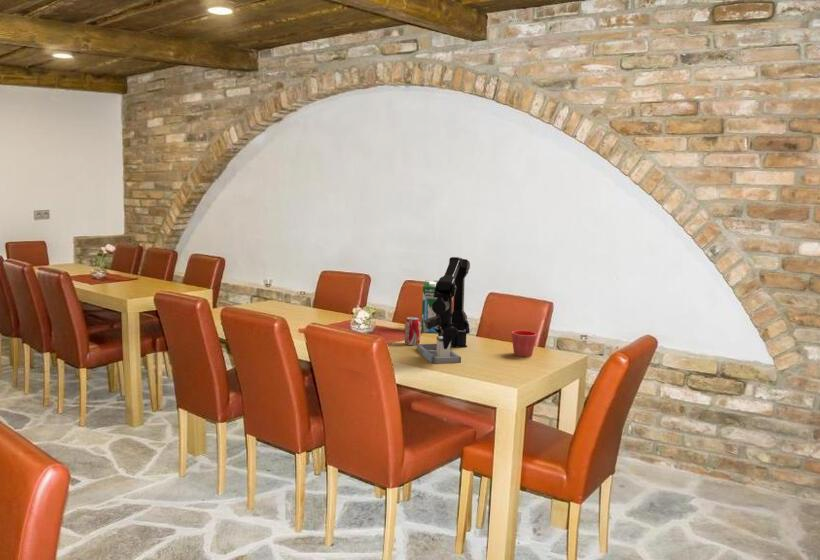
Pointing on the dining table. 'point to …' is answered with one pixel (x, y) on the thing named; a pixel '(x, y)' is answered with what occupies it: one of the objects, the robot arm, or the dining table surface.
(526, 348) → the flower pot
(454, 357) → the grey divided tray
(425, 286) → the milk carton
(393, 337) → the dining table surface
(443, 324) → the robot arm
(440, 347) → the cylinder
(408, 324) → the soda can
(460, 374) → the dining table surface
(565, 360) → the dining table surface
